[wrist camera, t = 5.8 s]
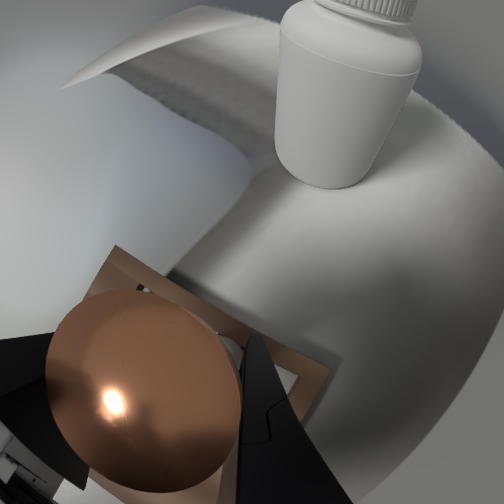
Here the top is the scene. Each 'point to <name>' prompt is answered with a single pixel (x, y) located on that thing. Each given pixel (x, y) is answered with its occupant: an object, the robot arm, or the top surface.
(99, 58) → the top surface
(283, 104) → the pill bottle
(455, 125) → the top surface
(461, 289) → the top surface
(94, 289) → the brown wooden flat board
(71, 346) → the capped cylinder
